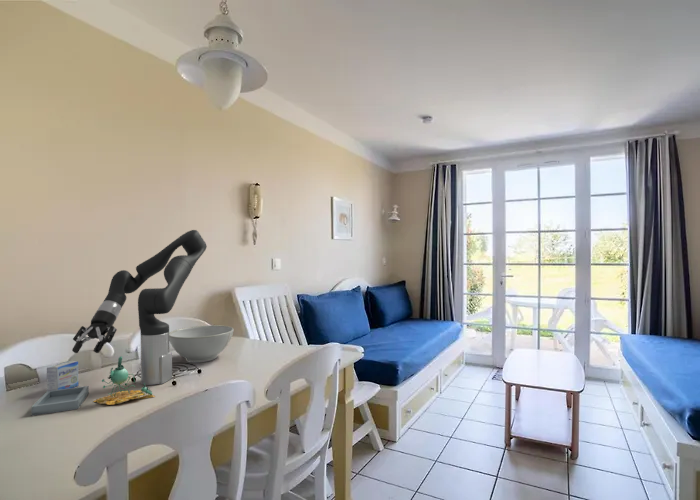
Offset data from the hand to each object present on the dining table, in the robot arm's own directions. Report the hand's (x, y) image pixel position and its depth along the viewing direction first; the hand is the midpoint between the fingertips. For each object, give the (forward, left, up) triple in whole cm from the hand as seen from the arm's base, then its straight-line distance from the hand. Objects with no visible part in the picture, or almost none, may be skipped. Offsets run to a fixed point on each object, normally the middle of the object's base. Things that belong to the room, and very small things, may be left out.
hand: (85, 352), depth 140 cm
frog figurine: (-29, +18, -10) cm, 35 cm away
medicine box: (-1, +10, -10) cm, 14 cm away
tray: (-12, +22, -10) cm, 27 cm away
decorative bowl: (-30, -30, -10) cm, 43 cm away
